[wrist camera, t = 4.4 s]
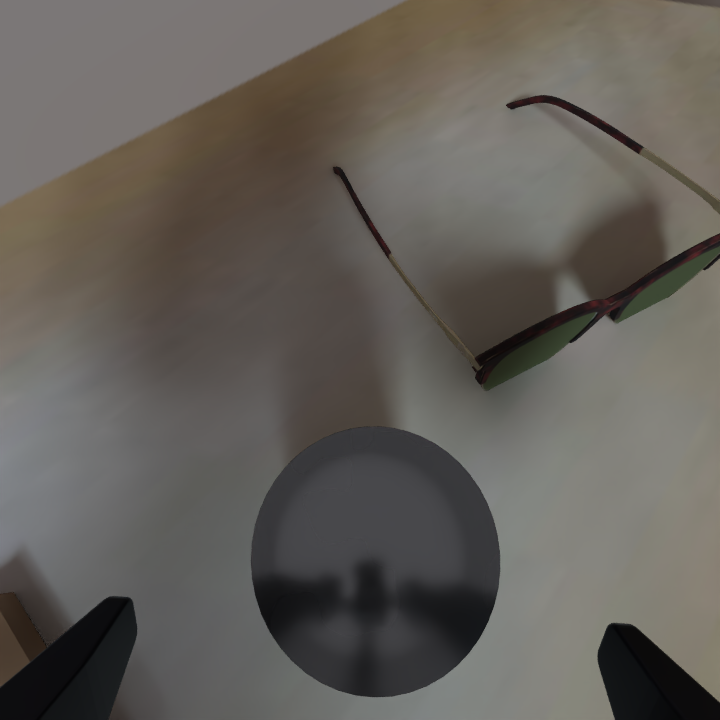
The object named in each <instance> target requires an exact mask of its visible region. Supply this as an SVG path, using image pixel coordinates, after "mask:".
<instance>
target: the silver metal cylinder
mask: <svg viewBox="0 0 720 720" xmlns="http://www.w3.org/2000/svg"><path fill="white" fill-rule="evenodd" d="M251 568H252V580H253V585H254V591H255V596H256V599H257V602H258V605H259V608H260V611H261V615H262V617H263V619H264V621H265V623H266V625H267V627H268V629H269V631H270V633H271V634H272V636H273V637H274V639H275V640H276V642H277V643H278V645H279V647H280V648H281V649H282V650H283V651H284V652H285V654H286V655H287V656H288V657H289V658H290V659H291V660H292V661H293V662H294V663H295V664H296V665H297V666H298V667H300V668H301V669H302V670H303V671H304V672H305V673H307V674H308V675H310V676H311V677H313V678H314V679H316V680H318V681H319V682H321V683H323V684H325V685H327V686H329V687H332V688H334V689H336V690H338V691H342V692H346V693H349V694H353V695H358V696H367V697H389V696H396V695H401V694H406V693H410V692H413V691H415V690H418V689H421V688H423V687H426V686H428V685H430V684H431V683H433V682H435V681H437V680H438V679H440V678H442V677H443V676H445V675H446V674H447V673H448V672H450V671H451V670H452V669H453V668H455V667H456V666H457V665H458V664H459V663H460V662H461V661H462V660H463V659H464V658H465V657H466V656H467V655H468V654H469V652H470V651H471V650H472V648H473V647H474V645H475V644H476V643H477V641H478V640H479V638H480V636H481V635H482V633H483V631H484V629H485V627H486V625H487V623H488V621H489V618H490V615H491V613H492V610H493V607H494V604H495V600H496V596H497V591H498V586H499V577H500V550H499V542H498V535H497V531H496V527H495V523H494V520H493V517H492V514H491V512H490V509H489V506H488V504H487V502H486V500H485V498H484V496H483V494H482V492H481V490H480V488H479V487H478V486H477V484H476V483H475V481H474V480H473V478H472V477H471V475H470V474H469V473H468V472H467V471H466V470H465V469H464V467H463V466H462V465H461V464H460V463H459V462H458V461H457V460H456V459H455V458H453V457H452V456H451V455H450V454H449V453H448V452H446V451H445V450H444V449H442V448H441V447H439V446H438V445H436V444H435V443H433V442H431V441H429V440H427V439H425V438H423V437H421V436H419V435H416V434H413V433H411V432H408V431H404V430H399V429H395V428H388V427H360V428H353V429H348V430H344V431H341V432H337V433H334V434H332V435H330V436H327V437H325V438H323V439H321V440H319V441H317V442H316V443H314V444H312V445H311V446H309V447H308V448H306V449H305V450H304V451H302V452H301V453H300V454H299V455H297V456H296V457H295V458H294V459H293V460H292V461H291V462H290V463H289V464H288V465H287V466H286V467H285V468H284V470H283V471H282V472H281V473H280V475H279V476H278V477H277V479H276V480H275V481H274V483H273V485H272V486H271V488H270V490H269V491H268V493H267V495H266V497H265V499H264V502H263V504H262V506H261V508H260V511H259V515H258V518H257V521H256V524H255V529H254V535H253V540H252V552H251Z"/></svg>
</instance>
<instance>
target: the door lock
mask: <svg viewBox="0 0 720 720" xmlns="http://www.w3.org/2000/svg"><path fill="white" fill-rule="evenodd" d="M46 648H47V647H46V645H45V644H44V642H43V640H42V639H41V637H40V635H39V634H38V632H37V630H36V629H35V627H34V625H33V624H32V622H31V620H30V619H29V617H28V615H27V614H26V612H25V610H24V609H23V607H22V605H21V604H20V602H19V600H18V599H17V597H16V595H15V594H14V592H12V593H3V594H0V687H1V686H2V685H3V684H4V683H6V682H7V681H8V680H9V679H10V678H12V677H13V676H14V675H15V674H16V673H18V672H19V671H20V670H21V669H22V668H23V667H25V666H26V665H27V664H28V663H29V662H31V661H32V660H33V659H34V658H35V657H37V656H38V655H39V654H40V653H41V652H42V651H44V650H45V649H46Z"/></svg>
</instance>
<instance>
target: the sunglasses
mask: <svg viewBox="0 0 720 720" xmlns="http://www.w3.org/2000/svg"><path fill="white" fill-rule="evenodd" d="M534 103H550V104H553V105H556V106H559V107H561V108H563V109H565V110H567V111H569V112H571V113H573V114H575V115H577V116H579V117H580V118H582V119H584V120H586V121H588V122H589V123H591V124H593V125H594V126H596V127H598V128H599V129H601V130H603V131H604V132H606V133H607V134H609V135H611V136H612V137H614V138H615V139H617V140H618V141H620V142H621V143H623V144H624V145H626V146H627V147H629V148H630V149H632V150H633V151H635V152H636V153H638V154H640V155H642V156H643V157H645V158H647V159H648V160H650V161H651V162H653V163H654V164H656V165H658V166H659V167H660V168H662V169H663V170H665V171H666V172H668V173H669V174H670V175H672V176H673V177H675V178H676V179H678V180H679V181H680V182H682V183H683V184H685V185H686V186H687V187H689V188H690V189H691V190H693V191H694V192H695V193H697V194H698V195H699V196H701V197H702V198H703V199H704V200H705V201H706V202H708V203H709V204H710V205H711V206H712V207H713V209H714V210H715V211H717V212H718V213H719V214H720V200H719V199H717V198H716V197H714V196H713V195H712V194H710V193H709V192H708V191H706V190H705V189H704V188H702V187H701V186H699V185H698V184H697V183H695V182H694V181H692V180H691V179H690V178H688V177H687V176H685V175H684V174H683V173H681V172H680V171H678V170H677V169H676V168H674V167H673V166H671V165H670V164H668V163H667V162H665V161H664V160H662V159H661V158H660V157H658V156H656V155H655V154H653V153H652V152H650V151H649V150H647V149H646V148H644V147H643V146H641V145H640V144H638V143H637V142H635V141H633V140H632V139H630V138H629V137H627V136H626V135H624V134H623V133H621V132H620V131H618V130H617V129H615V128H614V127H612V126H611V125H609V124H607V123H606V122H604V121H602V120H601V119H599V118H597V117H596V116H594V115H592V114H590V113H589V112H587V111H585V110H583V109H581V108H579V107H577V106H575V105H573V104H571V103H569V102H567V101H565V100H562V99H560V98H557V97H553V96H547V95H540V96H534V97H530V98H526V99H522V100H519V101H515V102H512V103H509V104H507V105H506V106H507V107H508V108H510V109H514V108H518V107H522V106H526V105H530V104H534ZM333 168H334V171H335V174H337V175H339V176H340V177H341V179H342V181H343V182H344V184H345V186H346V188H347V190H348V192H349V194H350V196H351V198H352V199H353V201H354V203H355V205H356V207H357V209H358V210H359V212H360V214H361V216H362V217H363V219H364V221H365V223H366V224H367V226H368V228H369V229H370V231H371V233H372V234H373V236H374V238H375V239H376V241H377V242H378V244H379V245H380V247H381V249H382V250H383V252H384V253H385V255H386V256H387V258H388V259H389V261H390V262H391V264H392V265H393V266H394V268H395V269H396V271H397V272H398V273H399V275H400V276H401V277H402V279H403V280H404V282H405V283H406V284H407V286H408V287H409V288H410V289H411V291H412V292H413V293H414V295H415V296H416V297H417V298H418V300H419V301H420V302H421V304H422V305H423V306H424V307H425V309H426V310H427V311H428V312H429V314H430V315H431V316H432V317H433V318H434V320H435V321H436V322H437V323H438V325H439V326H440V327H441V328H442V329H443V331H444V332H445V333H446V335H447V337H448V338H449V339H450V340H451V341H452V342H453V344H454V345H455V346H456V347H457V348H458V349H459V350H460V351H461V352H462V354H463V355H464V356H465V357H466V358H467V359H468V360H469V362H470V363H471V364H472V365H473V366H472V368H473V369H474V371H475V372H477V373H476V377H475V378H476V380H477V381H478V383H479V384H480V385H481V387H482V388H483V390H485V391H487V390H489V389H491V388H493V387H495V386H497V385H499V384H501V383H503V382H505V381H507V380H509V379H510V378H512V377H514V376H516V375H518V374H520V373H522V372H524V371H526V370H528V369H530V368H532V367H534V366H536V365H537V364H539V363H541V362H543V361H545V360H548V359H549V358H551V357H552V356H554V355H555V354H556V353H557V352H559V351H560V350H561V349H562V348H564V347H565V346H566V345H567V344H568V343H569V342H570V343H572V342H574V341H576V340H577V339H578V338H579V337H581V336H582V335H583V334H584V333H585V332H586V331H587V330H589V329H590V328H591V327H592V326H593V325H594V324H595V323H596V322H597V321H598V320H599V319H600V318H602V317H603V316H604V315H605V314H607V313H608V312H610V311H611V312H610V315H609V316H610V317H611V318H612V319H613V320H614V322H615V323H616V324H618V323H619V322H621V321H622V320H624V319H626V318H628V317H630V316H632V315H634V314H636V313H638V312H640V311H642V310H644V309H646V308H648V307H649V306H651V305H653V304H655V303H657V302H659V301H661V300H663V299H665V298H668V297H669V296H671V295H672V294H674V293H675V292H676V291H678V290H679V289H680V288H681V287H683V286H684V285H685V284H686V283H688V282H689V281H690V280H691V279H692V278H694V277H695V276H696V275H697V274H698V273H699V272H700V271H702V270H706V269H708V268H709V267H710V266H712V265H713V264H714V263H715V262H716V261H717V260H718V259H720V234H717V235H715V236H713V237H711V238H709V239H707V240H705V241H703V242H701V243H699V244H697V245H695V246H693V247H692V248H690V249H688V250H686V251H684V252H682V253H681V254H679V255H677V256H675V257H674V258H672V259H670V260H669V261H667V262H665V263H664V264H662V265H660V266H659V267H657V268H656V269H654V270H653V271H651V272H650V273H648V274H647V275H645V276H644V277H642V278H641V279H639V280H638V281H637V282H635V283H634V284H632V285H631V286H629V287H628V288H626V289H625V290H623V291H621V292H619V293H617V294H615V295H613V296H611V297H609V298H607V299H605V300H593V301H589V302H585V303H582V304H580V305H577V306H574V307H572V308H569V309H567V310H565V311H562V312H560V313H558V314H556V315H553V316H551V317H549V318H547V319H545V320H543V321H541V322H539V323H537V324H535V325H533V326H531V327H529V328H527V329H526V330H524V331H522V332H520V333H518V334H516V335H514V336H512V337H511V338H509V339H507V340H505V341H503V342H501V343H500V344H498V345H496V346H494V347H493V348H491V349H489V350H487V351H485V352H484V353H482V354H480V355H478V356H477V357H474V355H473V354H472V353H471V352H470V351H469V350H468V349H467V347H466V346H465V345H464V344H463V342H462V341H461V340H460V339H459V337H458V336H457V335H456V334H455V333H454V331H453V330H452V329H451V328H449V327H448V326H447V325H446V324H445V323H444V322H443V321H442V320H441V319H440V318H439V316H438V315H437V314H436V313H435V312H434V311H433V310H432V308H431V307H430V306H429V305H428V304H427V302H426V301H425V300H424V299H423V297H422V296H421V295H420V293H419V292H418V291H417V290H416V288H415V287H414V286H413V285H412V283H411V282H410V281H409V279H408V278H407V277H406V275H405V274H404V273H403V271H402V270H401V268H400V267H399V265H398V264H397V262H396V260H395V259H394V257H393V256H392V254H391V251H390V250H389V248H388V247H387V245H386V243H385V242H384V240H383V239H382V237H381V236H380V234H379V233H378V231H377V229H376V228H375V226H374V225H373V223H372V221H371V220H370V218H369V216H368V215H367V213H366V211H365V209H364V208H363V206H362V204H361V203H360V201H359V199H358V197H357V195H356V194H355V192H354V190H353V188H352V186H351V184H350V183H349V181H348V179H347V177H346V175H345V173H344V172H343V170H342V169H341V168H340V167H333Z"/></svg>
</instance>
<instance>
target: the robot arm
mask: <svg viewBox="0 0 720 720" xmlns="http://www.w3.org/2000/svg"><path fill="white" fill-rule="evenodd" d="M136 636H137V623H136V617H135V611H134V605H133V601H132V599H131V598H130V597H119V596H111V597H108V598H106V599H104V600H103V601H102V602H101V603H99V604H98V605H97V606H96V607H95V608H94V609H92V610H91V611H90V612H89V613H88V614H86V615H85V616H84V617H83V618H82V619H80V620H79V621H78V622H77V623H76V624H75V625H73V626H72V627H71V628H70V629H69V630H67V631H66V632H65V633H64V634H63V635H61V636H60V637H59V638H58V639H57V640H56V641H54V642H53V643H52V644H51V645H50V646H48V647H47V648H46V649H45V650H44V651H42V652H41V653H40V654H39V655H38V656H37V657H35V658H34V659H33V660H32V661H31V662H29V663H28V664H27V665H26V666H25V667H23V668H22V669H21V670H20V671H19V672H18V673H16V674H15V675H14V676H13V677H12V678H10V679H9V680H8V681H7V682H6V683H4V684H3V685H2V686H1V687H0V720H108V719H109V716H110V713H111V710H112V707H113V704H114V701H115V698H116V695H117V693H118V690H119V687H120V684H121V681H122V678H123V675H124V672H125V669H126V667H127V664H128V661H129V658H130V655H131V652H132V649H133V646H134V643H135V640H136ZM598 665H599V668H600V672H601V675H602V678H603V682H604V685H605V688H606V692H607V695H608V698H609V702H610V705H611V708H612V712H613V715H614V718H615V720H720V702H719V701H718V700H716V699H715V698H714V697H713V696H712V695H711V694H710V693H709V692H708V691H706V690H705V689H704V688H703V687H702V686H701V685H700V684H699V683H698V682H696V681H695V680H694V679H693V678H692V677H691V676H690V675H689V674H688V673H686V672H685V671H684V670H683V669H682V668H681V667H680V666H679V665H678V664H676V663H675V662H674V661H673V660H672V659H671V658H670V657H669V656H668V655H667V654H665V653H664V652H663V651H662V650H661V649H660V648H659V647H658V646H657V645H655V644H654V643H653V642H652V641H651V640H650V639H649V638H648V637H647V636H645V635H644V634H643V633H642V632H641V631H640V630H639V629H638V628H636V627H635V626H633V625H631V624H624V623H611V624H609V625H608V626H607V628H606V631H605V634H604V636H603V639H602V642H601V644H600V647H599V649H598Z"/></svg>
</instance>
